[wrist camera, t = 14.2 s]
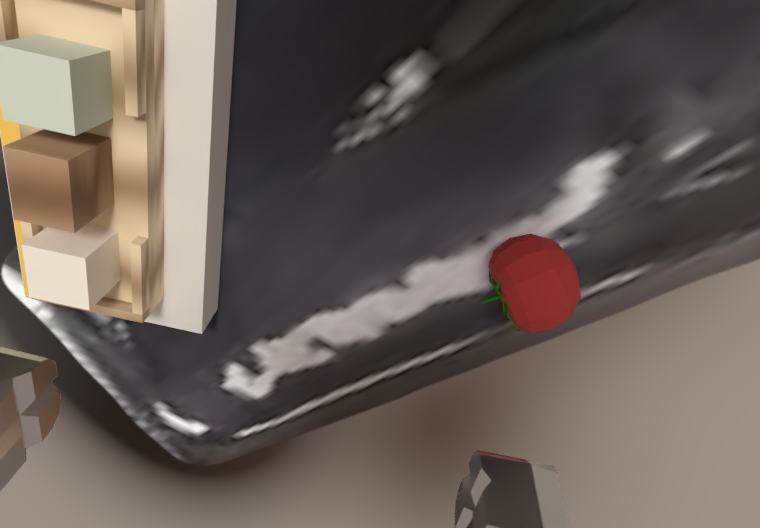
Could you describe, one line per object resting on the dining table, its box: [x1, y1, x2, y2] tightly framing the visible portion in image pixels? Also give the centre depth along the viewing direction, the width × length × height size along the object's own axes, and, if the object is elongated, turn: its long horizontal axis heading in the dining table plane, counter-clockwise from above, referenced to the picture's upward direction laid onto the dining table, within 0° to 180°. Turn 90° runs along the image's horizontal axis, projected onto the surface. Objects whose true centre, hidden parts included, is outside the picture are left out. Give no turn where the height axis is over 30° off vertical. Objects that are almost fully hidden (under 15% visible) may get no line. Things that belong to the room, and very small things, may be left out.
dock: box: [0, 0, 237, 334], centre depth 42 cm, size 30×16×4 cm, turn 168°
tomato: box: [481, 234, 581, 333], centre depth 43 cm, size 8×8×8 cm
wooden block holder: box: [0, 0, 164, 323], centre depth 37 cm, size 24×9×8 cm, turn 168°
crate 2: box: [22, 224, 121, 310], centre depth 40 cm, size 4×4×4 cm
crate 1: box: [0, 34, 113, 136], centre depth 33 cm, size 4×4×4 cm
